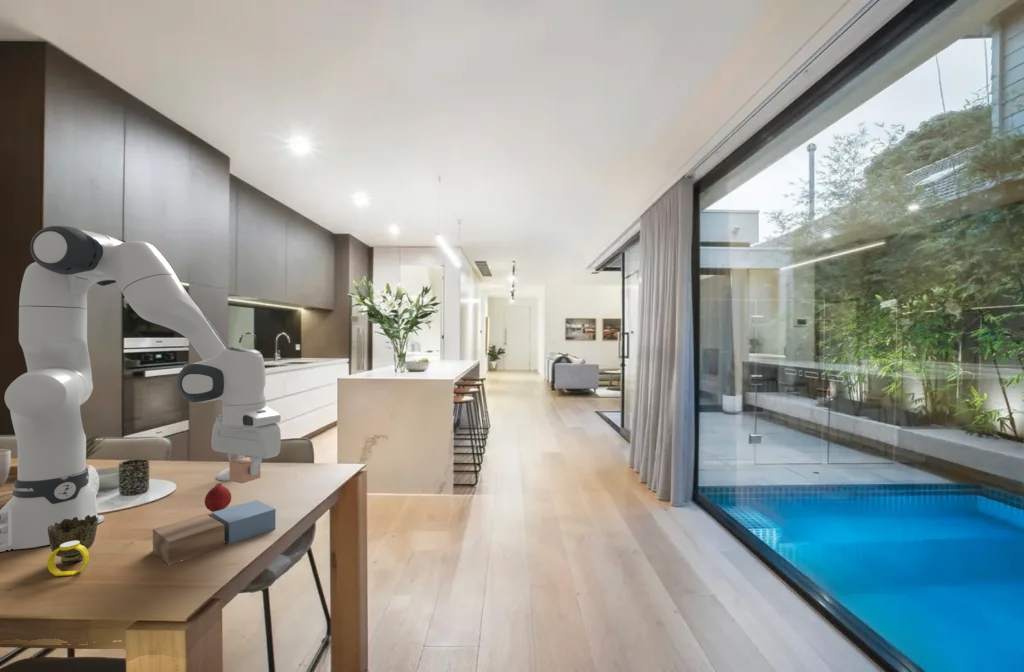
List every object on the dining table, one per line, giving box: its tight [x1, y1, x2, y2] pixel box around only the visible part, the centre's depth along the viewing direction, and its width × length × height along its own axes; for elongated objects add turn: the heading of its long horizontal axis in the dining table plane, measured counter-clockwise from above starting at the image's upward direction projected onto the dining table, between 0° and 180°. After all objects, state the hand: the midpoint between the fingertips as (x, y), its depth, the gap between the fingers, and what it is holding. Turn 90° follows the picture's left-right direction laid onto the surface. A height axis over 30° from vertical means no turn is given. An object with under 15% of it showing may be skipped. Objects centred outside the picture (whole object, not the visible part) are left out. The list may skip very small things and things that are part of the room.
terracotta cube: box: [229, 456, 261, 484], centre depth 105 cm, size 4×4×4 cm
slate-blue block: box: [211, 499, 277, 545], centre depth 105 cm, size 10×10×5 cm
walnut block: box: [152, 514, 225, 566], centre depth 96 cm, size 10×10×5 cm
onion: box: [204, 481, 232, 513], centre depth 115 cm, size 6×6×8 cm
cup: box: [48, 515, 99, 565], centre depth 91 cm, size 8×7×8 cm
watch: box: [46, 541, 90, 577], centre depth 85 cm, size 6×3×6 cm, turn 105°
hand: (244, 472), depth 105 cm, fingers closed on terracotta cube, 4 cm apart
